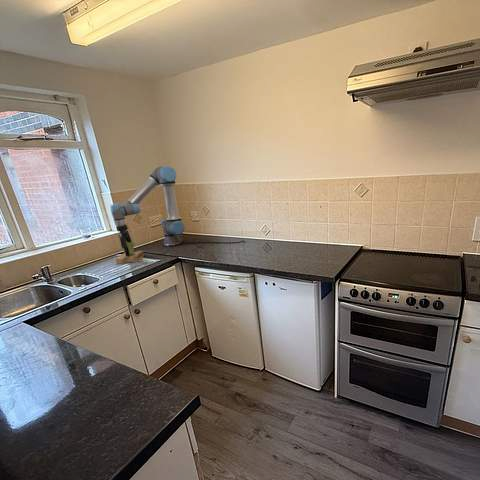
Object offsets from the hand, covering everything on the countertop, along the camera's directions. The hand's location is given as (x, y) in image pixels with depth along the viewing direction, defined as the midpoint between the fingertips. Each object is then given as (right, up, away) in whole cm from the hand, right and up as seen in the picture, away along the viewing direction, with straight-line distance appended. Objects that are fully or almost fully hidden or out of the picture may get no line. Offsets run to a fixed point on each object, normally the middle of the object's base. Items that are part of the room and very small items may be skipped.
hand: (130, 254), depth 231 cm
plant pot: (0, 0, 0) cm, 1 cm away
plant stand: (0, -4, +2) cm, 5 cm away
